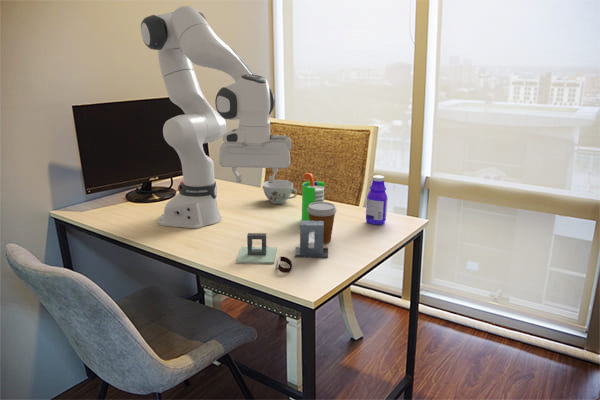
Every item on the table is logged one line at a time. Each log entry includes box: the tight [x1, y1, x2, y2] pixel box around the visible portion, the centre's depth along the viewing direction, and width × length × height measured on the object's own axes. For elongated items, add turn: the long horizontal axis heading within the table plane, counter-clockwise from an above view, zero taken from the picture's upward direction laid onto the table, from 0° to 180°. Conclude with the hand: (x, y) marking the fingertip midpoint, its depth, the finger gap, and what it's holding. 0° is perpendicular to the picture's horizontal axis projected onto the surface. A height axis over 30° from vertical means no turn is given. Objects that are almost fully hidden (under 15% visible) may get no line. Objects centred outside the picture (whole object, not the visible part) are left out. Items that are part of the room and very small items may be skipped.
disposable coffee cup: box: [307, 201, 337, 245], centre depth 156 cm, size 10×10×12 cm
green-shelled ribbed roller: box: [301, 172, 325, 221], centre depth 172 cm, size 9×8×18 cm
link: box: [246, 232, 267, 256], centre depth 144 cm, size 6×2×6 cm, turn 88°
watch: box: [275, 256, 293, 274], centre depth 137 cm, size 8×5×4 cm, turn 4°
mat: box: [235, 246, 278, 265], centre depth 146 cm, size 11×11×1 cm
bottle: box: [365, 174, 388, 226], centre depth 172 cm, size 7×6×17 cm
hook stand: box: [294, 220, 329, 259], centre depth 142 cm, size 10×15×10 cm, turn 178°
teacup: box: [262, 179, 298, 205], centre depth 196 cm, size 15×12×8 cm
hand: (255, 182), depth 139 cm, fingers open, 8 cm apart
